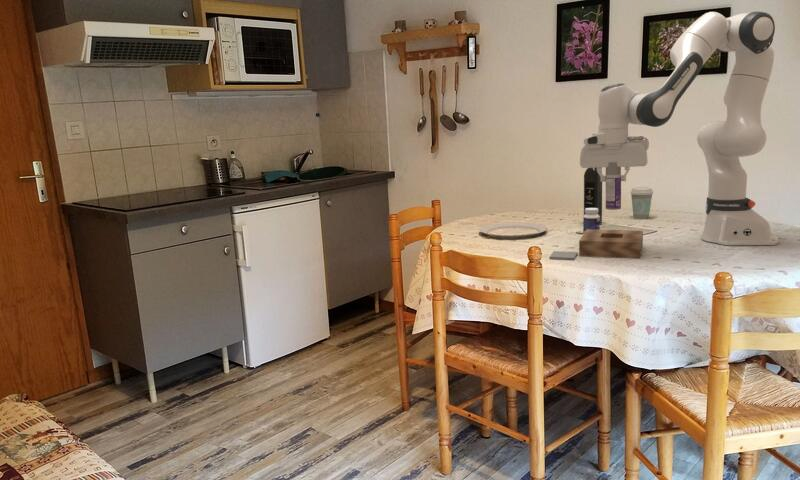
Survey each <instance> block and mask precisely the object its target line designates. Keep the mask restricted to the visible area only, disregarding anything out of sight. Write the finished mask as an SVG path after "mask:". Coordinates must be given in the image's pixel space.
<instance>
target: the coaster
mask: <svg viewBox="0 0 800 480" xmlns="http://www.w3.org/2000/svg"><path fill="white" fill-rule="evenodd" d="M577 256H579V251H578V252H577V251H562V250H561V251H558V250H553V252H552V253H551V254H550V256H549V260H560V261H575V259H576V258H577Z"/></svg>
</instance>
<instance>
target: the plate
mask: <svg viewBox="0 0 800 480" xmlns="http://www.w3.org/2000/svg"><path fill="white" fill-rule="evenodd" d="M496 229H497V230H502V229H528V230H534V231H537V232H534V233H528V234H519V235H518V234H516V235H514V234H513V235H512V234H511V235H509V234H505V235H504V234H491V233H490V232H492V231H495V230H496ZM478 230H479V232H480V233H482V234H485V235H487V236H489V237H491V236H492V238H496V237H497V238H496V239H525V238H531V237H535V236H537V235H540V234H541V233H543V232H545V231H547V230H548V227H547V226H546V225H544V224H542V223H537V222H536V223H535V222H527V221H510V222H509V221H505V222H497V223H495V222H494V223H490V224H486V225H484V226H483V225H482V226H481V227H480V228H479V229H478ZM489 231H490V232H489Z"/></svg>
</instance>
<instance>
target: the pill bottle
mask: <svg viewBox="0 0 800 480" xmlns="http://www.w3.org/2000/svg"><path fill="white" fill-rule="evenodd" d="M585 213H586V214H585V215H584V214H583V217H582V219H583V221H582V222H583V223H582V225H583V228H582V235H583V234H584V233H585V231H586V230H587V229H595V230H601V229H600V228H601V224H600V216H599V215H598V208H585Z"/></svg>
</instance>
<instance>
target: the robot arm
mask: <svg viewBox="0 0 800 480" xmlns="http://www.w3.org/2000/svg"><path fill="white" fill-rule="evenodd" d="M775 29H776V25H775V20H774V18H773V16H772V15H771V14H769V13H768V12H764V11H752V12H744V13H743V12H742V13H739V14H738V13H737V14H735V15H733V16H729V17H725V16H724V15H723V14H721V13H719V12H717V11H709V12H705V13H704V14H702V15H701V16H699V17H698V18H697V19H696V20H695V21H694V22H693V23H691V24H690V25H689V26H688V27H687V29H685V30H684V31H683V33H682V34H680V36H679V37H678V38H677V40H676V41H675V42H674V44H673V45H672V47H671V48H670V52H669V57H670V58H669V59H670V61H671V63H672V65H673V66H674V67H675V68H674V70H673V71H672V73H671V74H670V75H669V76H668V78H667V79H666V81H665V82H664V83H663V84H662V86H661V87H659V88H658V89H657V90H655V91H651V92H645V93H644V92H640V91H637V90H635V89H632V88H631V87H629V86H628V85H627V84H625V83H616V84H611V85H607V86H605V87H603V88H602V89H601V90H600V93H599V97H598V107H597V108H598V109H597V112H598V114H597V115H598V119H599V124H598V132H597V133H593V134H592V135H588V136H586V137H584V139H583V144H584V145H583V147H582V148H581V150H580V157H579V166H580V167H581V168H582V169H587V168H597V172H598V174H599V175H600V176H601V182H602V183H603V182H604V183H606V175H604V174H603V168H606V167H608V163H609V162H617V166H618V167H621V168H624V171H625V172H624V174H621V182H627V175H628V173H629V171H630V170H631V167H638V168H639V167H646V165H647V164H648V152H647V150H649V145H650V143H649V139H648V138H647V137H644V136H642V135H640V136H629V124H631V125H639V126H648V127H653V128H654V127H655V128H656V127H661V126H663V125H664V124H666V123H668V121H669V120H670V119H671V118H672V116H673V114H674V112H675V108H676V107H677V104H678V103H679V100H680V99H681V97H683V95H684V93H685V92H686V91H687V90H688V88H690V85H691V84H692V83H693V82H694V80H695V79H696V78H697V77H698V75H699V73H700V72H701V70H702V68H703V66H704V65H705V63H706V62H707V61H708V60H709V59H710V58H711V56H712V55H713V54H714V53H715V52H719V53H728V52H729V53H730V52H731V53H732V52H733V53H734V54H735V55H734V56H735V61H734V62H735V63H734V66H733V69H732V70H731V74H730V77H729V79H728V84H727V85H726V89H725V92H724V96H723V102H724V105H725V106H726V120H723V121H722V120H717V121H712V122H710V123H707V124H705V125H703V126H702V127H701V128H700V129H699V131H698V132H697V136H696V140H697V144H698V146H699V148H700V149H701V150H702V152H703V155H704V159H705V162H706V167H707V171H708V172H707V173H708V191H707V192H708V195H707V197H706V201H705V214H706V216H705V222H704V223H705V224H704V227H703V230H702V234H701V237H700V239H701V240H702V241H705V242H709V243H713V244H714V243H715V244H719V245H722V246H775V245H778V244H779V238H778V236H776V235H774V234H772V229H771V225H770V223H769V222H768V220H767V219H766V218H765V217H763V216H762V215H760V214H759V213H758V212H756V211H755V210H753V208H755V207H756V202H755V201H754V200H751V199H750V198H748V197H747V184H748V174H747V172H746V170H745V169H744V168H743V166H742V164H741V160H740V158H743V157H749V156H753V155H756V154H758V153H760V152H761V151H762V150H763V148H765V145H766V142H767V133H766V131H765V130H764V128H763V126H762V119H761V115H762V114H761V113H762V112H761V111H762V105H763V100H764V98H765V94H766V92H767V87H768V85H769V81H770V78H771V74H772V71H773V66H774V60H775V58H774V57H775V50H773V48H772V46H771V45H772V43H773V41H774V37H775ZM601 171H602V172H601Z"/></svg>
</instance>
